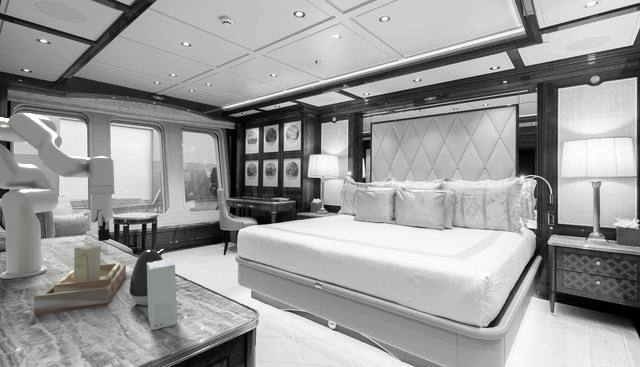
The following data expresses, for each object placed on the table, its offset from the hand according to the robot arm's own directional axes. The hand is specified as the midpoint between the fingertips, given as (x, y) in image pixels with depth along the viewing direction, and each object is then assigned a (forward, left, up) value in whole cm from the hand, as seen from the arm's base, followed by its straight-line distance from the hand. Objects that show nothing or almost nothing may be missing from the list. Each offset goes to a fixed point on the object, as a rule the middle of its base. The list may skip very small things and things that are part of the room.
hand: (104, 240), depth 115 cm
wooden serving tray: (+19, -1, -13) cm, 23 cm away
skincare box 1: (+18, -1, -11) cm, 21 cm away
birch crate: (+15, -1, -12) cm, 19 cm away
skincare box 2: (+50, +22, -13) cm, 56 cm away
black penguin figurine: (+35, +18, -13) cm, 41 cm away
